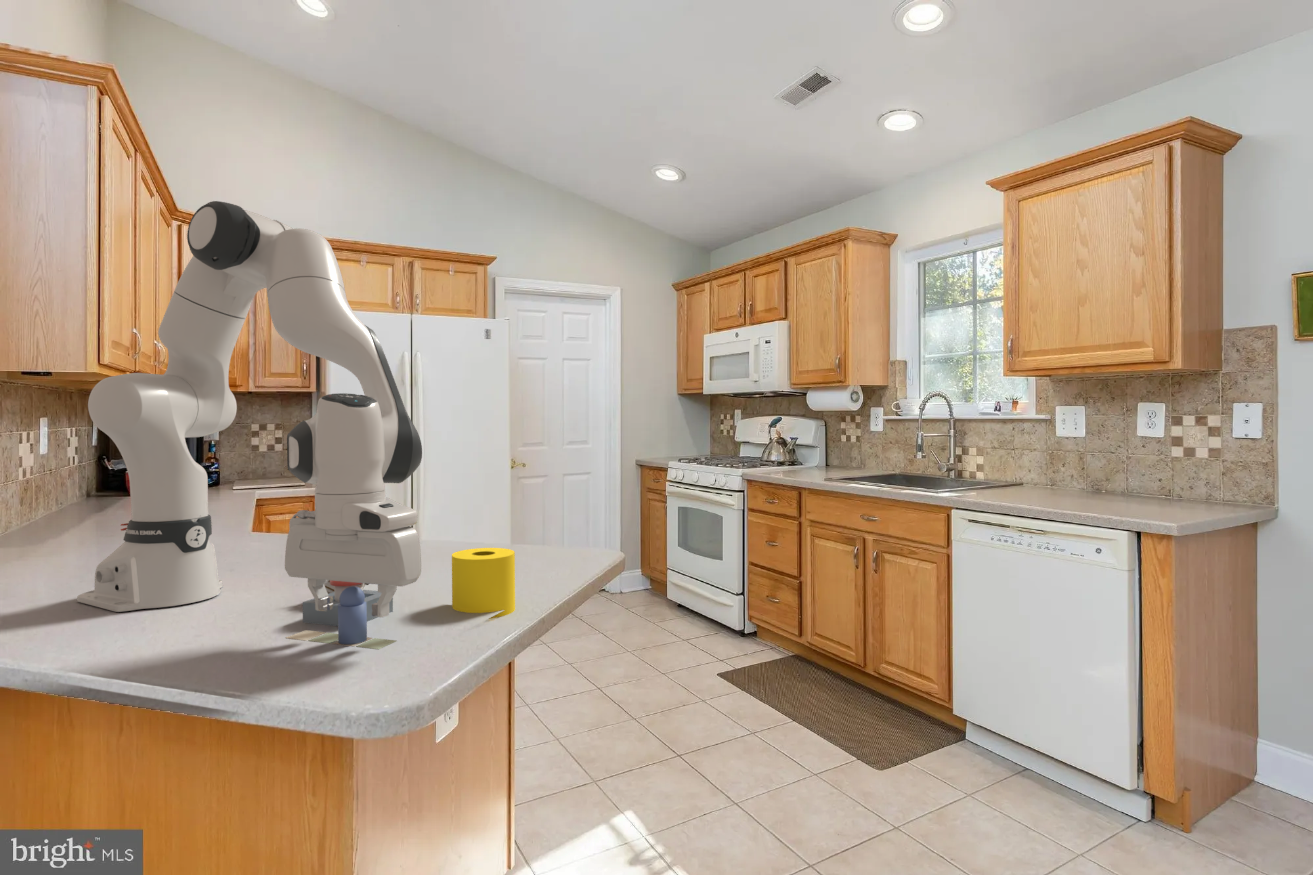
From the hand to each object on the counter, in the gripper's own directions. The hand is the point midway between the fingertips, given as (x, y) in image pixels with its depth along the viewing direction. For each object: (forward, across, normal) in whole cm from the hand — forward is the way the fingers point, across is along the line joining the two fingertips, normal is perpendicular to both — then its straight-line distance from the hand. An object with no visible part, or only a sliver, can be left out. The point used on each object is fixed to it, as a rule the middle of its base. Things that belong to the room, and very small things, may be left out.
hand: (352, 613), depth 96 cm
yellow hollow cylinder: (+5, +7, +22) cm, 24 cm away
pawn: (+4, 0, 0) cm, 4 cm away
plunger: (+4, -9, +9) cm, 14 cm away
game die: (+5, -17, +17) cm, 25 cm away
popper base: (+5, -9, +10) cm, 14 cm away
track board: (+5, -2, 0) cm, 5 cm away
